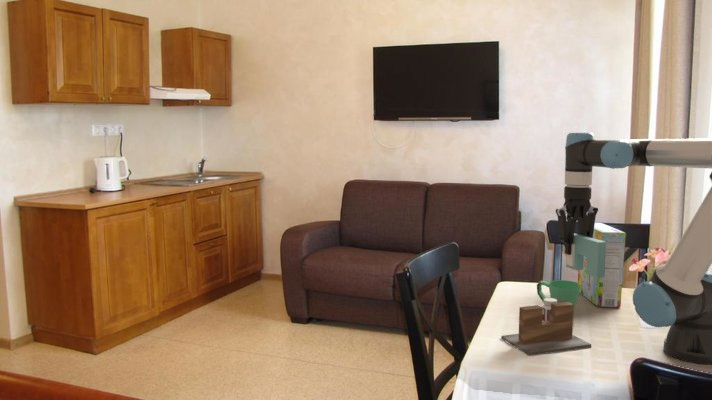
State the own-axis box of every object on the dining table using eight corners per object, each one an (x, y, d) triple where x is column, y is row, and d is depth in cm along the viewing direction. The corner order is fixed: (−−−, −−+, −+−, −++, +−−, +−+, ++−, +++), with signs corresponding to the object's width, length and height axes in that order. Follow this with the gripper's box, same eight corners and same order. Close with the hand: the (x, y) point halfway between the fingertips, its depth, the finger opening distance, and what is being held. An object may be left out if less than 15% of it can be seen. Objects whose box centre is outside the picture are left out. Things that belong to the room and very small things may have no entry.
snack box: (623, 308, 213) (627, 232, 210) (597, 308, 213) (600, 232, 210) (599, 290, 235) (602, 221, 231) (575, 290, 235) (578, 221, 231)
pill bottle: (560, 326, 195) (561, 299, 194) (553, 329, 192) (554, 302, 191) (545, 322, 198) (546, 296, 197) (538, 326, 195) (539, 299, 194)
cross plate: (604, 277, 179) (606, 241, 177) (597, 277, 178) (598, 242, 177) (573, 266, 192) (574, 233, 191) (565, 266, 191) (567, 233, 190)
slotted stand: (591, 347, 177) (593, 309, 176) (528, 355, 171) (530, 316, 170) (560, 331, 190) (561, 295, 189) (501, 338, 184) (502, 302, 183)
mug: (585, 314, 207) (586, 284, 205) (570, 320, 200) (571, 289, 199) (544, 304, 217) (545, 276, 216) (528, 310, 211) (529, 281, 209)
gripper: (591, 183, 192) (588, 260, 195) (547, 185, 187) (544, 264, 190) (608, 186, 185) (605, 265, 188) (563, 188, 180) (560, 269, 183)
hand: (574, 264), depth 189 cm, fingers closed on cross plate, 2 cm apart
